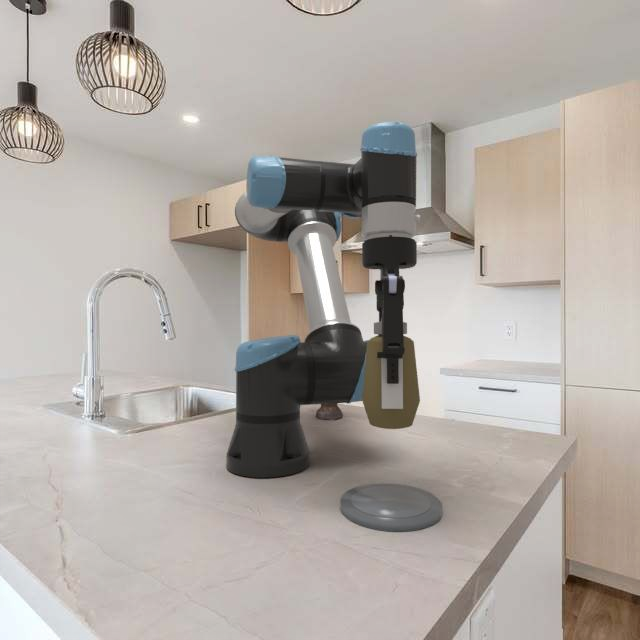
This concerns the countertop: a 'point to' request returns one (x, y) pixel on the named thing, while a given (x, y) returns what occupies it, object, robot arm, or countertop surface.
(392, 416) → the squeeze bottle
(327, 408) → the mortar and pestle
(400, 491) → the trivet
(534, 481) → the countertop surface
